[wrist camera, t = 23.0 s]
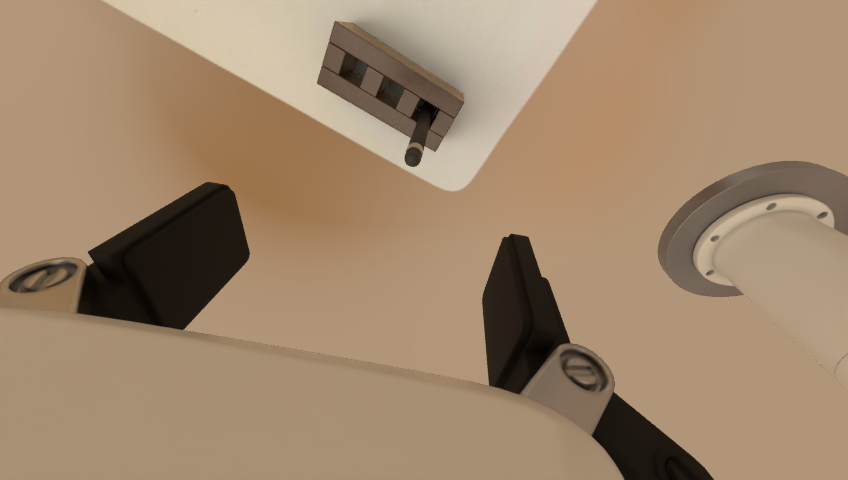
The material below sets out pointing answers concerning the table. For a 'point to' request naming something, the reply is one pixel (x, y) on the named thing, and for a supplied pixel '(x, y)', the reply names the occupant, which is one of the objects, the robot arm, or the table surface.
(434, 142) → the pen stand
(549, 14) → the table surface
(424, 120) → the stylus
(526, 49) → the table surface
